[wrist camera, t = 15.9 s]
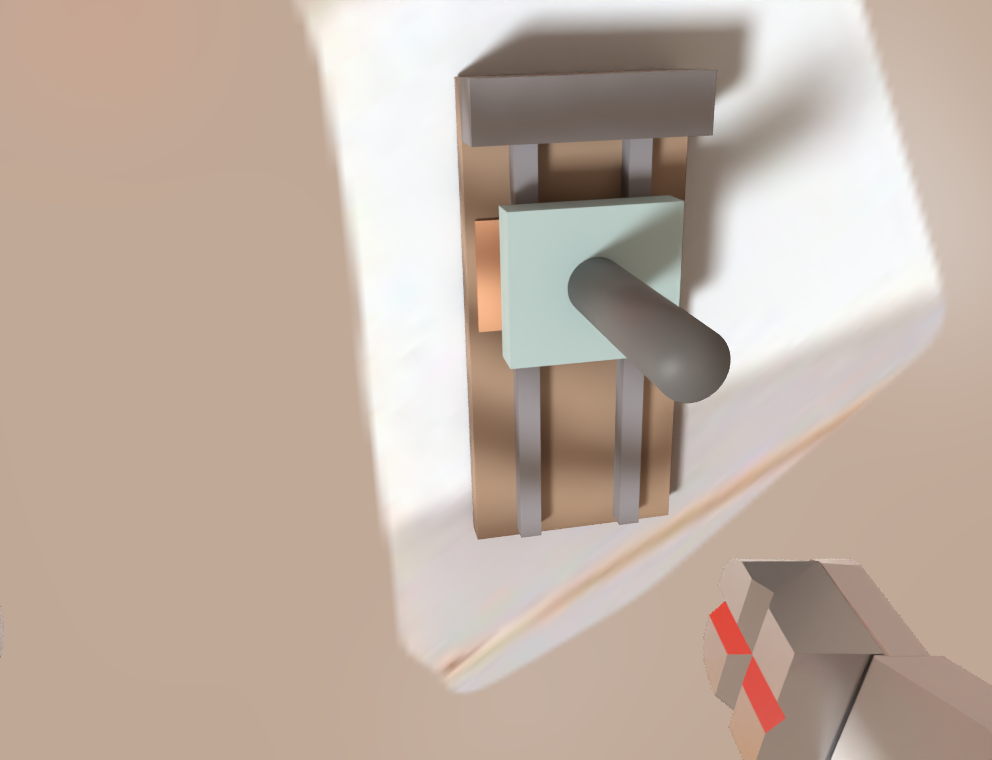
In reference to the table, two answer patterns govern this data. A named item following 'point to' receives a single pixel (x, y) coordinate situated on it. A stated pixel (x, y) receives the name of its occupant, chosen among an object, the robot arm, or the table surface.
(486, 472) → the rail board
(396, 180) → the table surface
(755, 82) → the table surface
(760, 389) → the table surface
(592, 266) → the carriage
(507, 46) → the table surface
